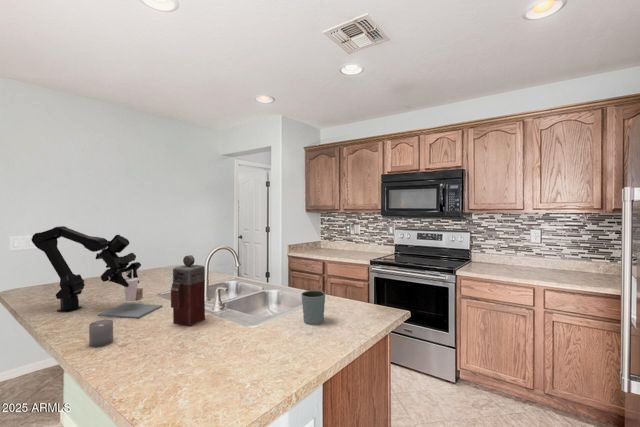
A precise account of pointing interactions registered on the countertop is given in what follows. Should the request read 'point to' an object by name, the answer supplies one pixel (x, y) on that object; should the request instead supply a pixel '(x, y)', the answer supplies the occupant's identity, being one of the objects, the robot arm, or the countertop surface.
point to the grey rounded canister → (100, 333)
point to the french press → (188, 293)
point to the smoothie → (131, 288)
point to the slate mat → (130, 310)
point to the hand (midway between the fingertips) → (133, 284)
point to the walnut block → (139, 293)
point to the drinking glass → (313, 307)
